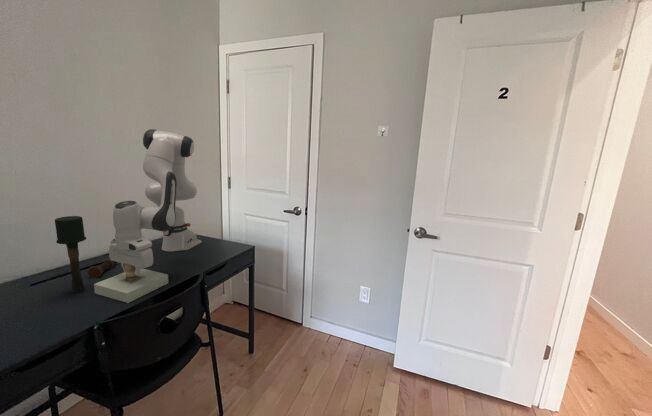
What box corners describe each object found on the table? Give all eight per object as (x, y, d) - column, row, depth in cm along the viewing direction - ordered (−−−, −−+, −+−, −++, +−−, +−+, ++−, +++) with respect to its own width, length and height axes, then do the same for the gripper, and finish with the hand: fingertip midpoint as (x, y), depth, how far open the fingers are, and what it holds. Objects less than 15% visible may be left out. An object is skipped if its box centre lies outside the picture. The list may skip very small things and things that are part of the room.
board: (138, 275, 127) (137, 267, 126) (168, 283, 122) (167, 274, 121) (94, 293, 110) (93, 283, 110) (128, 303, 105) (127, 293, 104)
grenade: (84, 283, 117) (75, 214, 112) (97, 288, 114) (88, 217, 108) (59, 292, 110) (48, 218, 104) (71, 298, 107) (61, 221, 101)
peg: (134, 284, 119) (132, 259, 117) (142, 286, 117) (139, 261, 115) (124, 288, 115) (122, 263, 113) (132, 290, 113) (129, 265, 111)
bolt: (116, 268, 138) (96, 280, 124) (106, 263, 137) (85, 275, 123) (122, 258, 138) (103, 269, 123) (111, 253, 137) (91, 264, 122)
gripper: (102, 240, 112) (106, 272, 115) (140, 247, 106) (143, 281, 109) (118, 236, 118) (121, 266, 121) (155, 243, 112) (157, 275, 115)
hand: (132, 273), depth 115 cm, fingers closed on peg, 4 cm apart
